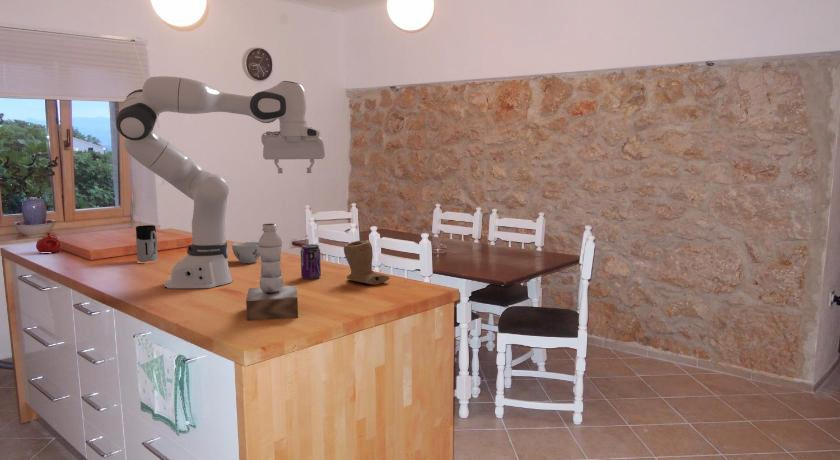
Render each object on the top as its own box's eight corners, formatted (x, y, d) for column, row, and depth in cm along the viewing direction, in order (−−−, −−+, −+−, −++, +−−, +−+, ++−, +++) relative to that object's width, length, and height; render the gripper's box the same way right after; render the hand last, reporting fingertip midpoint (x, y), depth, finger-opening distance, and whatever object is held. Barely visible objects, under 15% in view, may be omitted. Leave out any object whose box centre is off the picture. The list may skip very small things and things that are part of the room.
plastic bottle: (262, 289, 181) (259, 223, 178) (285, 289, 182) (282, 222, 179) (257, 295, 175) (254, 225, 172) (281, 294, 175) (279, 225, 173)
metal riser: (247, 320, 171) (246, 299, 170) (249, 307, 184) (248, 288, 184) (298, 317, 174) (297, 296, 173) (296, 304, 187) (296, 285, 187)
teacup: (270, 261, 257) (269, 242, 256) (246, 266, 247) (245, 247, 245) (246, 257, 265) (245, 239, 264) (222, 262, 255) (221, 243, 254)
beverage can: (316, 280, 221) (315, 247, 220) (298, 279, 223) (297, 246, 221) (323, 276, 228) (322, 244, 227) (305, 275, 230) (304, 243, 228)
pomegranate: (31, 254, 275) (29, 234, 274) (48, 250, 285) (46, 231, 284) (51, 255, 274) (48, 234, 272) (67, 250, 283) (65, 231, 282)
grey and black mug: (154, 259, 263) (151, 224, 261) (168, 263, 253) (166, 227, 251) (133, 261, 257) (130, 226, 255) (146, 266, 247) (144, 229, 245)
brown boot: (337, 281, 219) (337, 240, 217) (364, 276, 227) (364, 236, 225) (363, 288, 208) (362, 245, 206) (390, 283, 216) (390, 241, 214)
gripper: (260, 131, 198) (262, 174, 200) (324, 131, 203) (325, 173, 204) (261, 131, 204) (263, 173, 206) (323, 131, 209) (324, 172, 211)
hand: (294, 173), depth 205 cm, fingers open, 8 cm apart
